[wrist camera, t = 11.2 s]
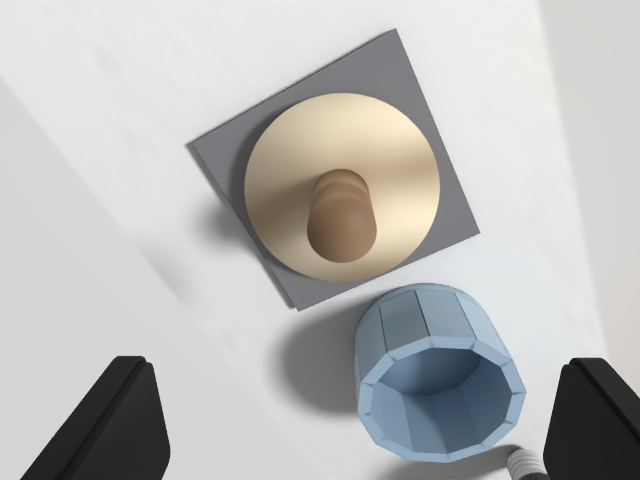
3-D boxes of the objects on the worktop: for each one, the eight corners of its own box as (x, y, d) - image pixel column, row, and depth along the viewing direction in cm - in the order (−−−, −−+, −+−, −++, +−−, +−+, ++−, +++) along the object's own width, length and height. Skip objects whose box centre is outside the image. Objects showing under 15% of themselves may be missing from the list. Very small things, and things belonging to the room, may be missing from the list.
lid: (462, 227, 25) (499, 279, 19) (304, 297, 27) (295, 362, 21) (387, 52, 21) (405, 52, 16) (212, 150, 24) (173, 180, 18)
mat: (477, 229, 25) (480, 233, 25) (299, 306, 28) (298, 311, 27) (394, 28, 21) (395, 28, 21) (195, 140, 24) (192, 143, 23)
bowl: (509, 367, 29) (545, 432, 24) (387, 411, 31) (397, 480, 26) (462, 261, 26) (492, 310, 21) (331, 316, 28) (329, 373, 23)
